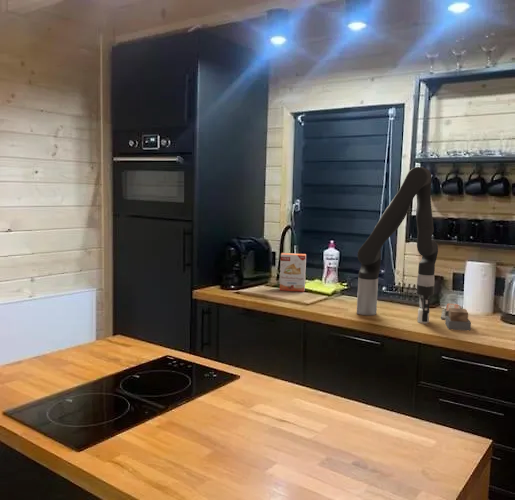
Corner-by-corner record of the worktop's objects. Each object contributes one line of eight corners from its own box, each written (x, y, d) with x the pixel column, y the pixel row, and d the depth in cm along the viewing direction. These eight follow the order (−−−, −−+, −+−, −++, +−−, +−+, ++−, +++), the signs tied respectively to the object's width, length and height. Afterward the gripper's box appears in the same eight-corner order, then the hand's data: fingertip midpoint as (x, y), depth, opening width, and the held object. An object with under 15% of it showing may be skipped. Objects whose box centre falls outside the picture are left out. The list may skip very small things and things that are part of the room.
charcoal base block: (448, 330, 241) (449, 321, 241) (445, 324, 250) (445, 315, 249) (470, 331, 240) (471, 322, 239) (466, 325, 248) (466, 317, 248)
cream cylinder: (418, 323, 250) (418, 310, 249) (416, 320, 255) (417, 307, 254) (429, 324, 249) (430, 311, 248) (428, 321, 254) (428, 308, 253)
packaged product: (442, 301, 273) (464, 303, 270) (442, 311, 274) (463, 313, 271) (441, 310, 257) (464, 312, 253) (440, 320, 257) (463, 322, 254)
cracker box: (279, 290, 311) (280, 254, 308) (280, 288, 317) (281, 252, 314) (304, 292, 309) (305, 255, 306) (305, 289, 315) (306, 253, 312)
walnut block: (450, 320, 241) (451, 311, 241) (448, 316, 248) (449, 308, 248) (467, 321, 240) (468, 312, 239) (464, 317, 247) (465, 309, 246)
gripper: (415, 280, 257) (413, 314, 259) (418, 286, 243) (416, 322, 245) (431, 281, 256) (429, 315, 258) (436, 287, 242) (434, 323, 244)
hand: (423, 319), depth 252 cm, fingers open, 8 cm apart
